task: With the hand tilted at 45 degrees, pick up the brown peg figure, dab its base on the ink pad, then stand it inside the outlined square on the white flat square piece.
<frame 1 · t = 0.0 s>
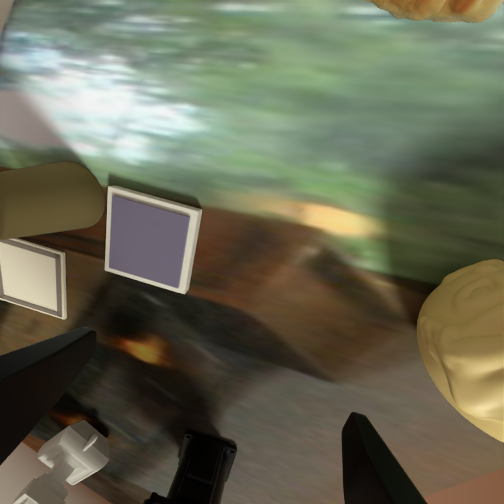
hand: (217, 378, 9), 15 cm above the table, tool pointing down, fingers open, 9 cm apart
ink pad: (153, 239, 24), on the table
brown peg figure: (75, 195, 24), on the table
sculpture: (472, 307, 22), on the table
stamp: (90, 431, 35), on the table
white flat square piece: (31, 276, 28), on the table
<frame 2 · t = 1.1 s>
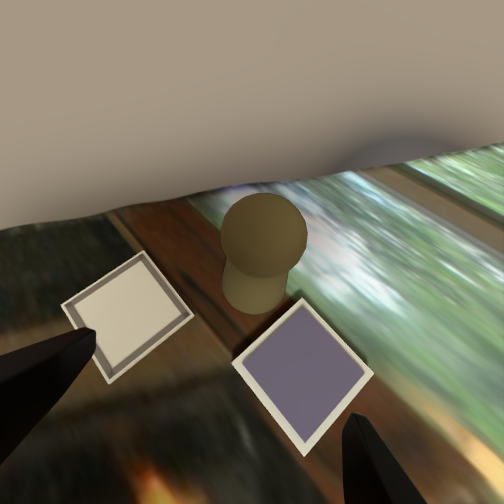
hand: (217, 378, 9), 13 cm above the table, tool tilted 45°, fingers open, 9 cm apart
ink pad: (300, 368, 21), on the table
brown peg figure: (254, 282, 24), on the table
white flat square piece: (129, 310, 22), on the table
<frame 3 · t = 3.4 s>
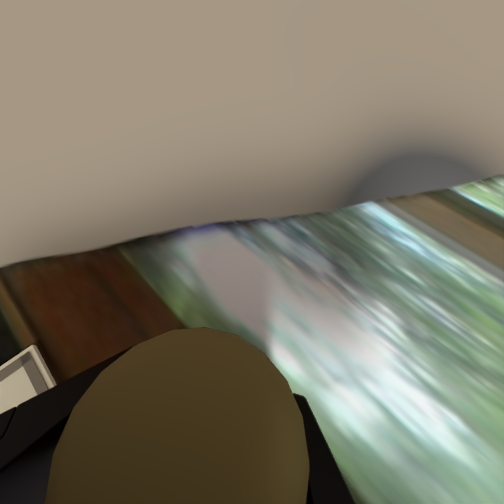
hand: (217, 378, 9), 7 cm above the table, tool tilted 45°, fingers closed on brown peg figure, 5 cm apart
brown peg figure: (217, 401, 14), on the table, touching gripper
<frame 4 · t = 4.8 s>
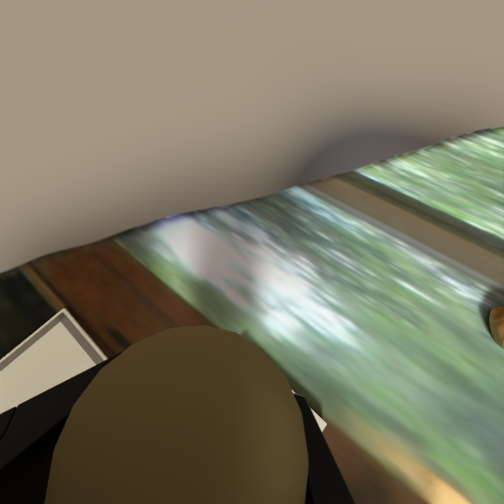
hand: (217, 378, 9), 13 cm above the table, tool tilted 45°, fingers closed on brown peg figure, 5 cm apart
brown peg figure: (216, 399, 14), point 6 cm above the table, touching gripper
white flat square piece: (49, 384, 20), on the table
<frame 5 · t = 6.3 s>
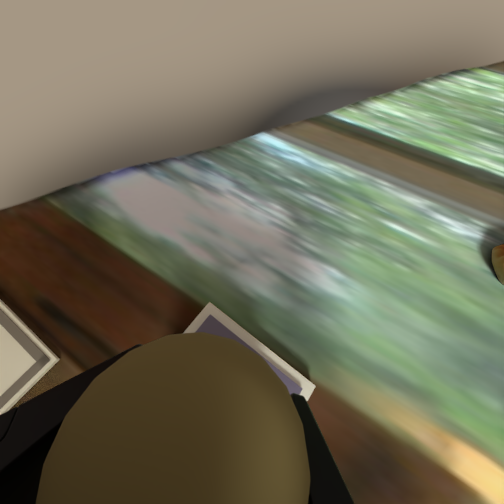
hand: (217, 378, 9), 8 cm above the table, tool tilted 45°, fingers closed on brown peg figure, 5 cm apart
ink pad: (218, 400, 15), on the table
brown peg figure: (214, 407, 14), point 1 cm above the table, touching gripper, ink pad
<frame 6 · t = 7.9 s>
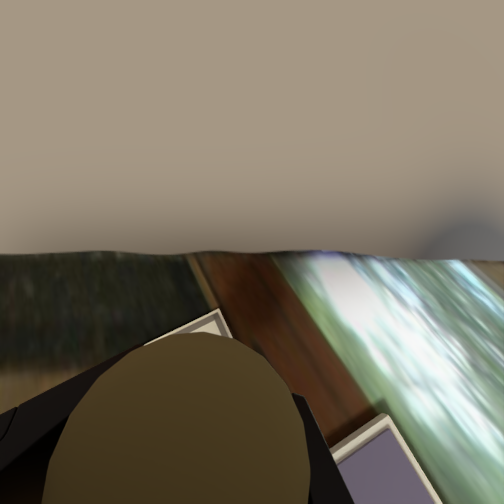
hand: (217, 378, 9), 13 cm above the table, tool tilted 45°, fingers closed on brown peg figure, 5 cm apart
ink pad: (372, 503, 18), on the table
brown peg figure: (220, 406, 14), point 7 cm above the table, touching gripper
white flat square piece: (193, 376, 21), on the table
when the fingers open (7 cm above the table, at t = 9.6 s): brown peg figure stays where it is, resting on white flat square piece.
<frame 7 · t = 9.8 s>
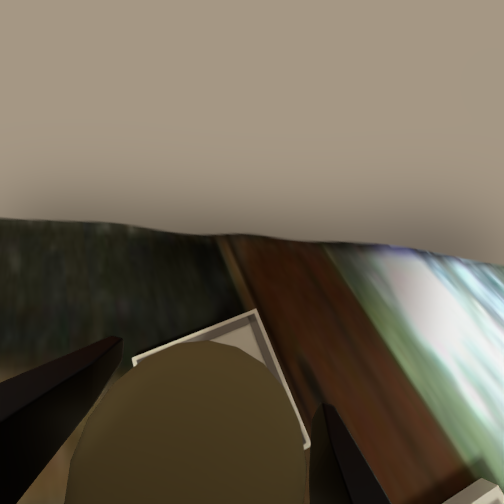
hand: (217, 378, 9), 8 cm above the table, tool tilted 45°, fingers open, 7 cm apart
brown peg figure: (219, 408, 15), resting on white flat square piece
white flat square piece: (218, 399, 15), on the table
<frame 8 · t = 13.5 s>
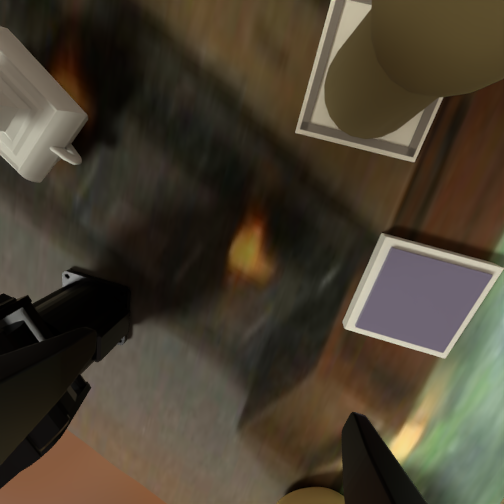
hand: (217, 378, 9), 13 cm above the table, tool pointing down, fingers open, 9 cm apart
ink pad: (411, 294, 20), on the table
brown peg figure: (374, 86, 16), resting on white flat square piece
sculpture: (319, 502, 30), on the table
stamp: (58, 118, 20), on the table
white flat square piece: (377, 79, 16), on the table
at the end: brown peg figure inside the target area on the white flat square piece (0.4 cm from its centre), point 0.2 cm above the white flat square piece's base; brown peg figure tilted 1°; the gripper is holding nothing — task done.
